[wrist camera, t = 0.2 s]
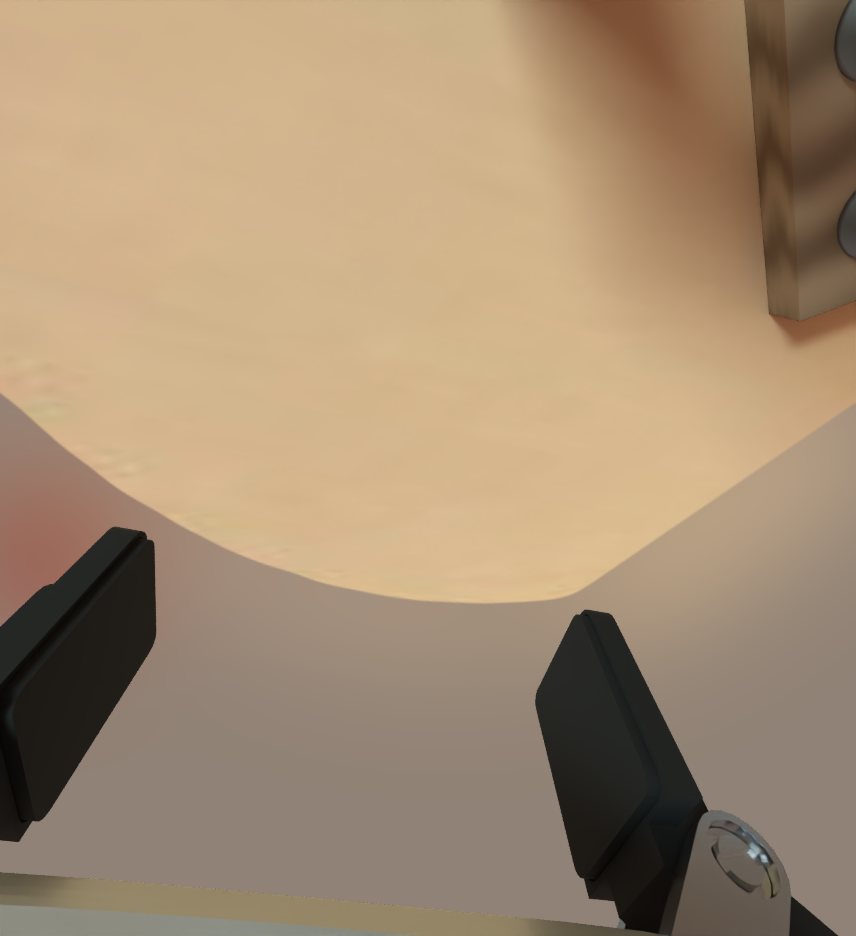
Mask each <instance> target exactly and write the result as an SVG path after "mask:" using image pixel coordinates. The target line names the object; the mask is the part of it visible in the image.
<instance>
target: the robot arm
mask: <svg viewBox="0 0 856 936" xmlns="http://www.w3.org/2000/svg"><path fill="white" fill-rule="evenodd" d="M154 551H155V550H154V542H153V541H152V540H147V536H146V534H145V532H142V531H137V530H131V529H126V528H120V527H112V528H111V529H109V530H108V531H107V532H106V533H105V534H104V535H103V536H102V537H101V538H100V539H99V540H98V541H97V542H96V543H95V544H94V545H93V546H92V547H91V548H90V549H89V550H88V551H87V552H86V553H85V554H84V555H83V556H82V557H81V558H80V559H79V560H78V561H77V562H76V563H75V564H74V565H73V566H72V567H71V568H70V569H69V570H68V571H67V572H66V573H65V574H63V576H61V577H60V578H59V580H58V581H56V582H55V583H54V584H49V585H47V586H44V587H43V588H41V589H40V590H39V591H38V592H36V593H35V594H34V595H33V596H32V597H31V598H30V599H29V600H28V601H27V602H26V603H25V604H24V605H23V606H22V607H20V608H19V609H18V611H16V612H15V613H14V614H13V615H12V616H11V617H10V618H9V619H8V620H7V621H6V622H5V623H4V624H3V625H2V626H1V627H0V840H3V841H13V842H19V841H20V839H21V837H22V836H23V835H24V833H25V831H26V830H27V828H28V827H29V825H30V824H31V822H32V821H40V820H42V819H43V818H44V817H45V816H46V814H47V813H48V812H49V811H50V809H51V808H52V806H53V804H54V803H55V801H56V800H57V798H58V797H59V795H60V793H61V792H62V790H63V788H64V787H65V785H66V784H67V782H68V781H69V779H70V777H71V776H72V774H73V773H74V771H75V769H76V768H77V766H78V764H79V763H80V762H81V760H82V758H83V757H84V755H85V754H86V752H87V750H88V749H89V747H90V746H91V744H92V743H93V741H94V739H95V738H96V736H97V735H98V733H99V731H100V730H101V728H102V727H103V725H104V723H105V722H106V720H107V719H108V717H109V716H110V714H111V712H112V711H113V709H114V708H115V706H116V704H117V703H118V701H119V700H120V698H121V697H122V695H123V693H124V692H125V690H126V689H127V687H128V685H129V684H130V682H131V681H132V679H133V677H134V676H135V674H136V673H137V671H138V670H139V668H140V666H141V665H142V663H143V662H144V660H145V658H146V657H147V655H148V654H149V652H150V650H151V648H152V646H153V644H154V641H155V637H156V601H155V599H156V598H155V553H154ZM535 704H536V710H537V714H538V718H539V723H540V727H541V731H542V735H543V739H544V743H545V747H546V751H547V756H548V760H549V764H550V768H551V772H552V776H553V780H554V784H555V789H556V793H557V797H558V801H559V805H560V809H561V813H562V817H563V822H564V826H565V830H566V834H567V838H568V842H569V846H570V851H571V855H572V859H573V863H574V866H575V870H576V872H577V874H578V875H579V877H580V878H584V880H585V884H586V888H587V892H588V896H589V899H599V900H608V901H615V905H616V908H617V912H618V915H619V918H620V920H619V923H618V926H617V928H610V927H603V926H594V925H586V924H578V923H569V922H560V921H549V920H540V919H529V918H520V917H509V916H499V915H489V914H479V913H469V912H458V911H449V910H439V909H428V908H417V907H407V906H395V905H385V904H374V903H364V902H363V903H362V902H353V901H342V900H331V899H320V898H309V897H299V896H298V897H297V896H288V895H276V894H266V893H255V892H243V891H231V890H220V889H208V888H197V887H186V886H174V885H161V884H151V883H139V882H128V881H116V880H104V879H89V878H74V877H59V876H45V875H29V874H15V873H1V872H0V936H838V935H837V934H835V933H834V932H833V931H832V930H831V929H829V928H828V927H827V926H826V925H825V924H824V923H822V922H821V921H820V920H819V919H818V918H816V917H815V916H814V915H813V914H812V913H811V912H810V911H808V910H807V909H806V908H805V907H804V906H802V905H801V904H800V903H799V902H798V901H796V900H795V899H794V898H793V897H792V896H791V891H790V883H789V879H788V877H787V874H786V871H785V869H784V866H783V864H782V863H781V861H780V860H779V858H778V856H777V855H776V853H775V852H774V850H773V849H772V847H770V845H769V844H768V843H767V842H766V840H765V839H764V838H763V837H762V836H761V835H760V834H759V833H758V832H757V831H756V830H754V829H753V828H752V827H751V826H750V825H749V824H747V823H746V822H744V821H743V820H741V819H739V818H738V817H736V816H735V815H732V814H730V813H727V812H724V811H715V810H714V811H713V810H711V811H708V810H707V807H706V805H705V803H704V801H703V799H702V798H703V797H702V795H701V793H700V791H699V789H698V787H697V785H696V783H695V781H694V779H693V777H692V775H691V773H690V771H689V769H688V767H687V765H686V763H685V761H684V759H683V757H682V755H681V753H680V751H679V749H678V747H677V744H676V742H675V740H674V738H673V736H672V734H671V732H670V731H669V728H668V726H667V724H666V722H665V720H664V718H663V716H662V714H661V712H660V710H659V708H658V706H657V704H656V702H655V700H654V699H653V696H652V694H651V692H650V690H649V688H648V686H647V684H646V682H645V680H644V678H643V676H642V674H641V672H640V670H639V668H638V666H637V664H636V662H635V660H634V658H633V656H632V654H631V652H630V650H629V648H628V646H627V644H626V642H625V639H624V637H623V635H622V633H621V632H620V629H619V627H618V626H617V623H616V621H615V619H614V618H613V616H612V615H610V614H609V613H603V612H598V611H592V610H584V611H583V612H582V613H581V614H580V615H575V616H574V618H573V619H572V621H571V623H570V625H569V627H568V629H567V631H566V633H565V635H564V637H563V639H562V641H561V644H560V645H559V647H558V649H557V651H556V653H555V655H554V658H553V659H552V662H551V663H550V665H549V668H548V670H547V672H546V674H545V676H544V678H543V680H542V682H541V684H540V686H539V688H538V690H537V693H536V700H535Z"/></svg>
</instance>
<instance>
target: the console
mask: <svg viewBox="0 0 856 936" xmlns="http://www.w3.org/2000/svg"><path fill="white" fill-rule="evenodd" d="M745 10H746V23H747V36H748V48H749V61H750V74H751V87H752V100H753V113H754V126H755V138H756V151H757V164H758V177H759V190H760V203H761V216H762V228H763V241H764V254H765V267H766V280H767V293H768V306H769V314H773V315H777V316H781V317H785V318H789V319H793V320H797V321H802V320H805V319H808V318H810V317H813V316H816V315H818V314H821V313H824V312H826V311H829V310H832V309H835V308H837V307H840V306H843V305H845V304H848V303H851V302H853V301H856V0H745Z"/></svg>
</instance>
